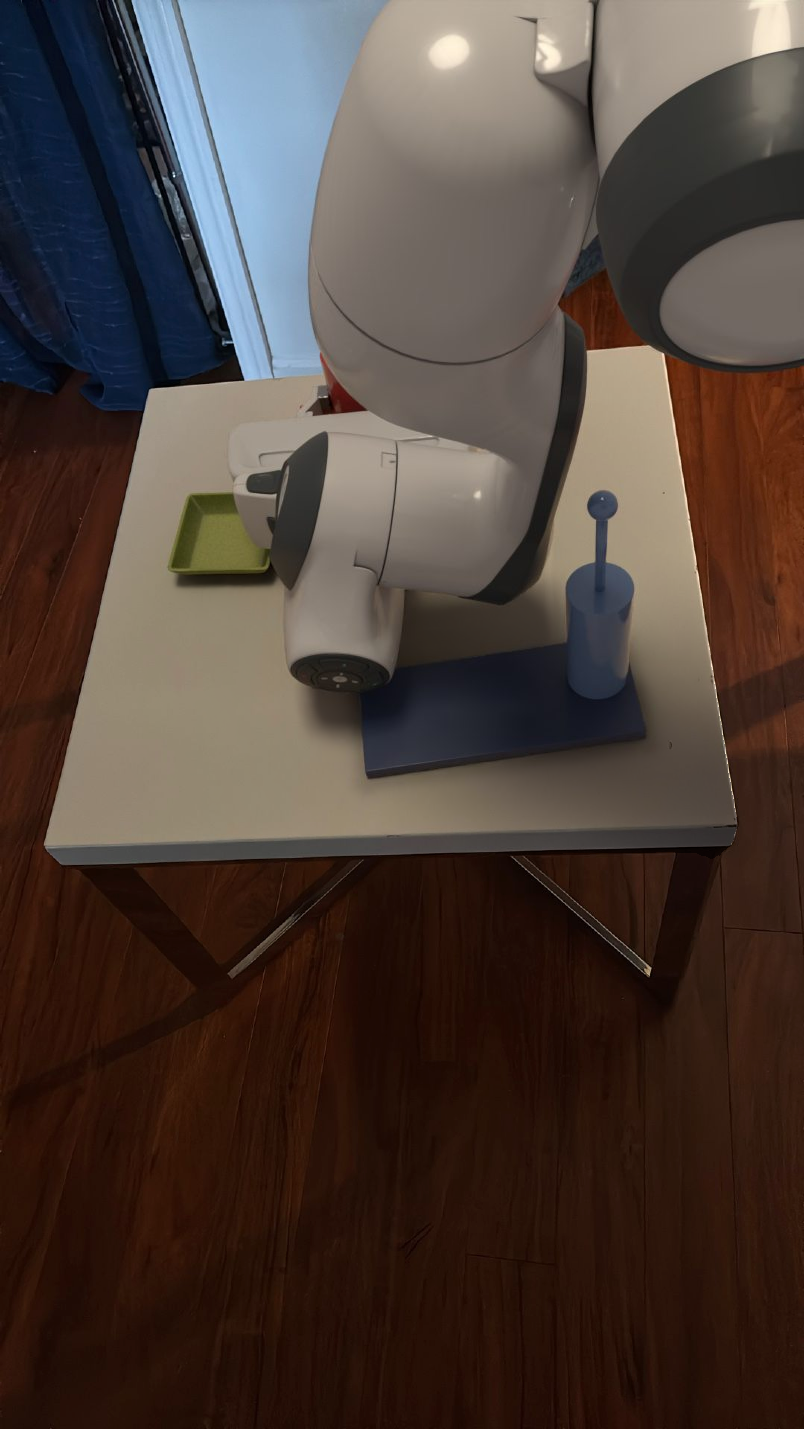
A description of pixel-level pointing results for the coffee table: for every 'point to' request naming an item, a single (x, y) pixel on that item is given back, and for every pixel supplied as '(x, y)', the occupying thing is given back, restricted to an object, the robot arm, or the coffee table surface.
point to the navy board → (488, 712)
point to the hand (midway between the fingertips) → (356, 388)
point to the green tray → (214, 539)
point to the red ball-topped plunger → (339, 393)
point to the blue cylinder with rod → (599, 614)
